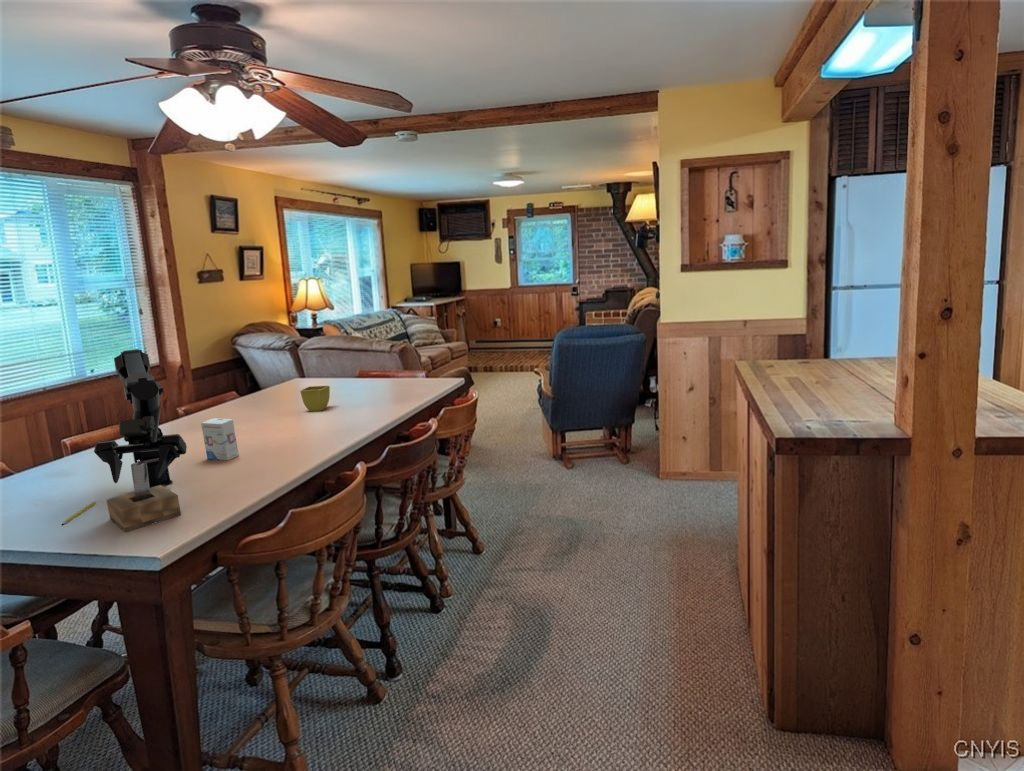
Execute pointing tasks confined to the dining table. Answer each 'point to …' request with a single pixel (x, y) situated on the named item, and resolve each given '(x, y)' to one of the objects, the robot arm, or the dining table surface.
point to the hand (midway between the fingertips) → (136, 479)
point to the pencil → (79, 513)
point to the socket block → (143, 508)
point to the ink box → (220, 439)
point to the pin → (140, 481)
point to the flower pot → (315, 397)
